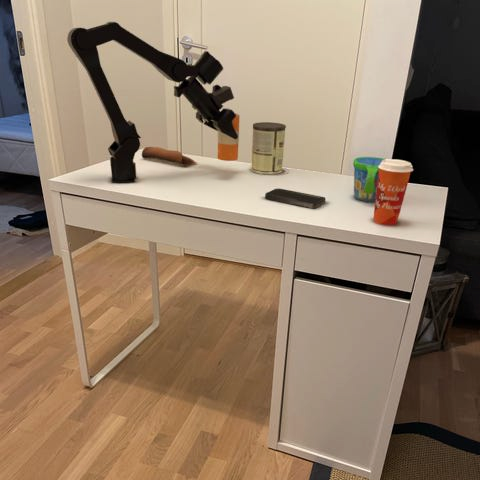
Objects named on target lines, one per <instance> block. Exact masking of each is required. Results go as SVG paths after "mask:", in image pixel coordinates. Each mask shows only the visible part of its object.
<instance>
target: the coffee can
mask: <svg viewBox="0 0 480 480" xmlns="http://www.w3.org/2000/svg"><path fill="white" fill-rule="evenodd" d="M286 128H287V125H286V124H283V123H280V122H271V121H270V122H269V121H268V122H267V121H266V122H265V121H264V122H263V121H262V122H254V123H253V124H252V147H251V167H250V171H251V172H253V173H255V174H260V175H278V174H282V173H283V163H284V150H285V136H286Z"/></svg>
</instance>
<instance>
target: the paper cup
mask: <svg viewBox="0 0 480 480" xmlns="http://www.w3.org/2000/svg"><path fill="white" fill-rule="evenodd" d="M385 159H386V160H383V161H382V162H381V163H380V165H379V166H378V167H379V175H378V182H377V192H376V200H375V202H374V209H373V219H372V220H373V222H374V223H375V224H378V225H382V226H395V225H396V224H397V223H398V220H399V217H400V214H401V210H402V207H403V202H404V199H405V195H406V191H407V188H408V185H409V181H410V176H411V173H412V172H413V171H414V168H413V165H412V163H411V162H410V161H407V160H403V159H395V158H394V159H393V158H392V159H391V158H388V159H387V158H385Z"/></svg>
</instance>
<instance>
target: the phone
mask: <svg viewBox="0 0 480 480" xmlns="http://www.w3.org/2000/svg"><path fill="white" fill-rule="evenodd" d="M264 198H265V199H266V200H271V201H276V202H281V203H285V204H290V205H295V206H299V207H305V208H309V209H317V208H318V207H320V206H322V205H324V204H325V203H326V197H325V196H320V195H315V194H311V193H305V192H301V191H295V190H291V189H290V190H289V189H284V188H277V187H276V188H274V189H272V190H270V191H267V192H265V195H264Z"/></svg>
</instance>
